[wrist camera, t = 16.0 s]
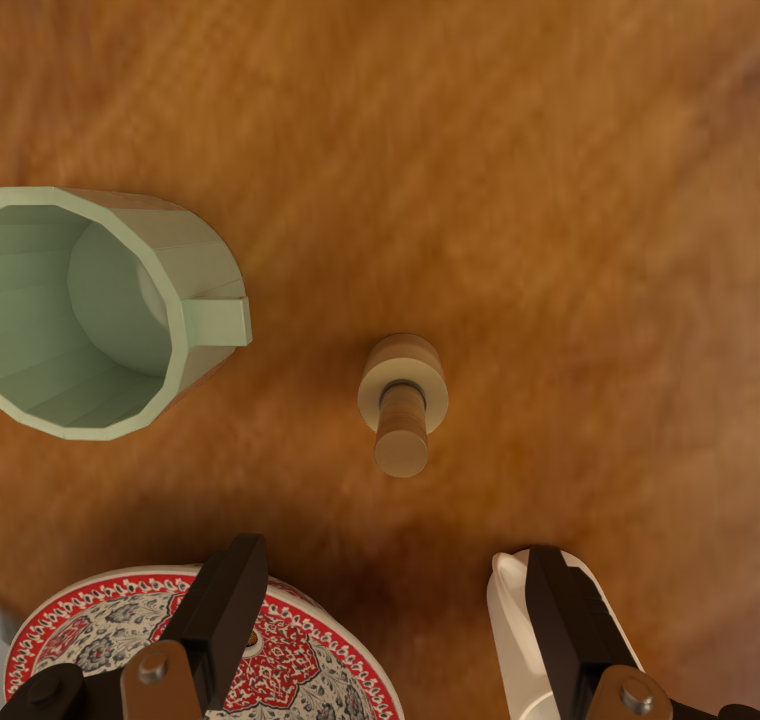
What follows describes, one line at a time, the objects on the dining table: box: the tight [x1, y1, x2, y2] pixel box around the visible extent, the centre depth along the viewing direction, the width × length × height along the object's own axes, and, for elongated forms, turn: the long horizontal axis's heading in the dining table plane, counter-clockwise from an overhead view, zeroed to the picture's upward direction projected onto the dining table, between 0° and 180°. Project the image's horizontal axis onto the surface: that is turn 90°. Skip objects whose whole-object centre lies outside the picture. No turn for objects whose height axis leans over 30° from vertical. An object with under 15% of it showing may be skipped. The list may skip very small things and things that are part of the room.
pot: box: [0, 186, 252, 441], centre depth 26 cm, size 13×18×8 cm
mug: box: [487, 549, 645, 720], centre depth 30 cm, size 9×12×11 cm
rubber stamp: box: [358, 333, 448, 478], centre depth 25 cm, size 5×5×12 cm
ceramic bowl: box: [3, 564, 405, 720], centre depth 35 cm, size 29×29×8 cm
